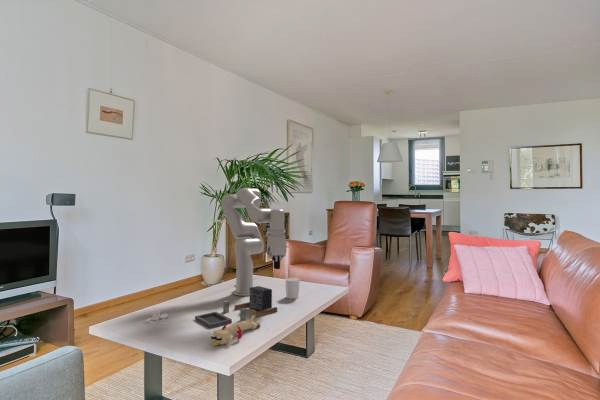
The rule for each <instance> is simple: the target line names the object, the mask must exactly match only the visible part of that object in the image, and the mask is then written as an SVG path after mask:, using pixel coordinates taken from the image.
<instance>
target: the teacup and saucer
mask: <svg viewBox="0 0 600 400" xmlns="http://www.w3.org/2000/svg"><path fill="white" fill-rule="evenodd" d="M151 315H152V316H151ZM168 317H169V315H168V313H163V314H161V311H160V310H152V312H150V315H149V318H148V319H146V322H148V323H154V324H155V323H160V322H164V321H165V320H166V319H167V318H168ZM159 319H160V320H159ZM150 320H153V321H150Z"/></svg>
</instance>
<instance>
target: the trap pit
mask: <svg viewBox="0 0 600 400" xmlns="http://www.w3.org/2000/svg"><path fill="white" fill-rule="evenodd" d="M194 319H195V320H194V321H197V322H199V323H200V324H202V325H204V326H205V327H208V328H209V329H214V328H217V327H221V326H224V325H226V324H227V323H229V324H232V323H233V322H232V318H229V317H228V316H226V315H224V314H221V313H220V312H218V311H212V312H207V313H203V314H199V315H195V316H194ZM227 325H228V324H227Z"/></svg>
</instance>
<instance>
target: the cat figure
mask: <svg viewBox="0 0 600 400" xmlns="http://www.w3.org/2000/svg"><path fill="white" fill-rule="evenodd" d="M256 312H257V311H256V310H253V309H251V310H250V313H251V316H250V317H249V319H246V320H245V321H240V322H236V323H233V324H231V325H229V326H228V324H230V323H227V324H225V325H223V326H222V328H221V329H216V330H214V331H213V333H212V334H211V337H210V340H212V341H210V343H211V344H212V345H213V346H214V347H215V346H219V345H224V344H226V345H227V344H230V342H233V338H234V335H235V334H237V339H236V340H237V341H238V340H241V339H242V337H243V332H242V331H248V330H251V329H259V328H261V324H260V323H261V322H260V321H259V320H257V321H256V322H255V321H254V319H255V318H256V317H255V316H256ZM252 314H253V315H252Z"/></svg>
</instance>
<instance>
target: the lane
mask: <svg viewBox="0 0 600 400" xmlns="http://www.w3.org/2000/svg"><path fill="white" fill-rule="evenodd" d="M249 305H250V301H249V302H248V301H247V302H244V303H238V304H234V307H233V308H234V310H235V311H237V310H240V311H239V312H240V313H239V318H240V322H242V321H247V308H249ZM222 307H223V309H222V311H223V312H222V313H229V312H230V301H229V300H223V303H222ZM255 312H256V316H255V318H258V317H259V318H260V317H262V316H265V315H270V314H273V313H277V312H278V307H277V306H275V307H272V308H269V309H265V310H261V311H255ZM252 315H253V314H251V316H252Z"/></svg>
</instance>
